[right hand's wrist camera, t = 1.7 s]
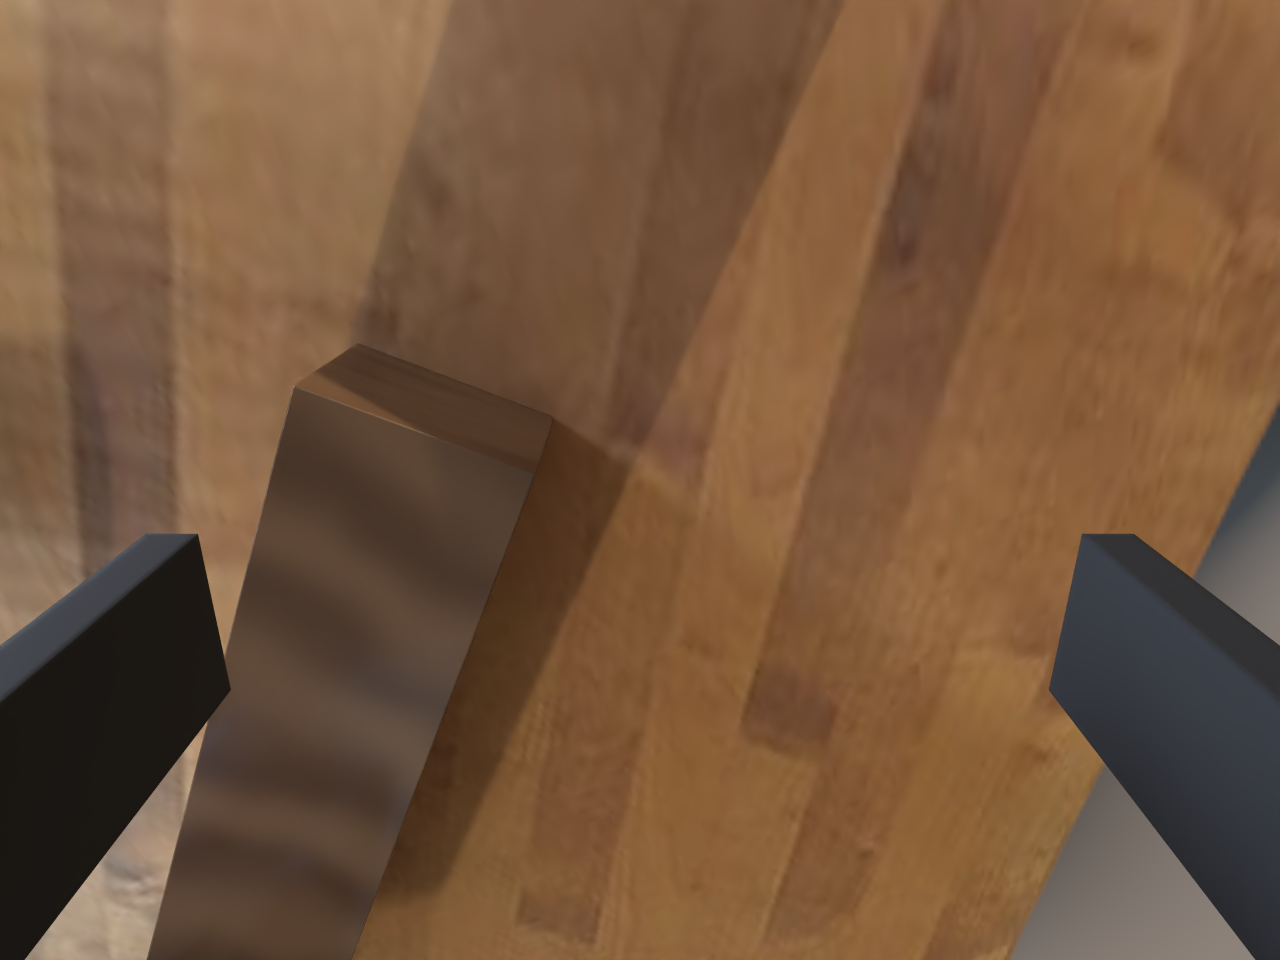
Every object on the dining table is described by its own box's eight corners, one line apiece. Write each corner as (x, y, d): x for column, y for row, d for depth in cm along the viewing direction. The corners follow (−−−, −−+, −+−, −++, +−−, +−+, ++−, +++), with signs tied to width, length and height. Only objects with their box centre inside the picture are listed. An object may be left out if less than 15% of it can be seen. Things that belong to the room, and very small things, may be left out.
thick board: (357, 342, 38) (293, 384, 31) (554, 417, 39) (535, 474, 32) (132, 1147, 58) (64, 1281, 51) (266, 1178, 59) (216, 1313, 53)
